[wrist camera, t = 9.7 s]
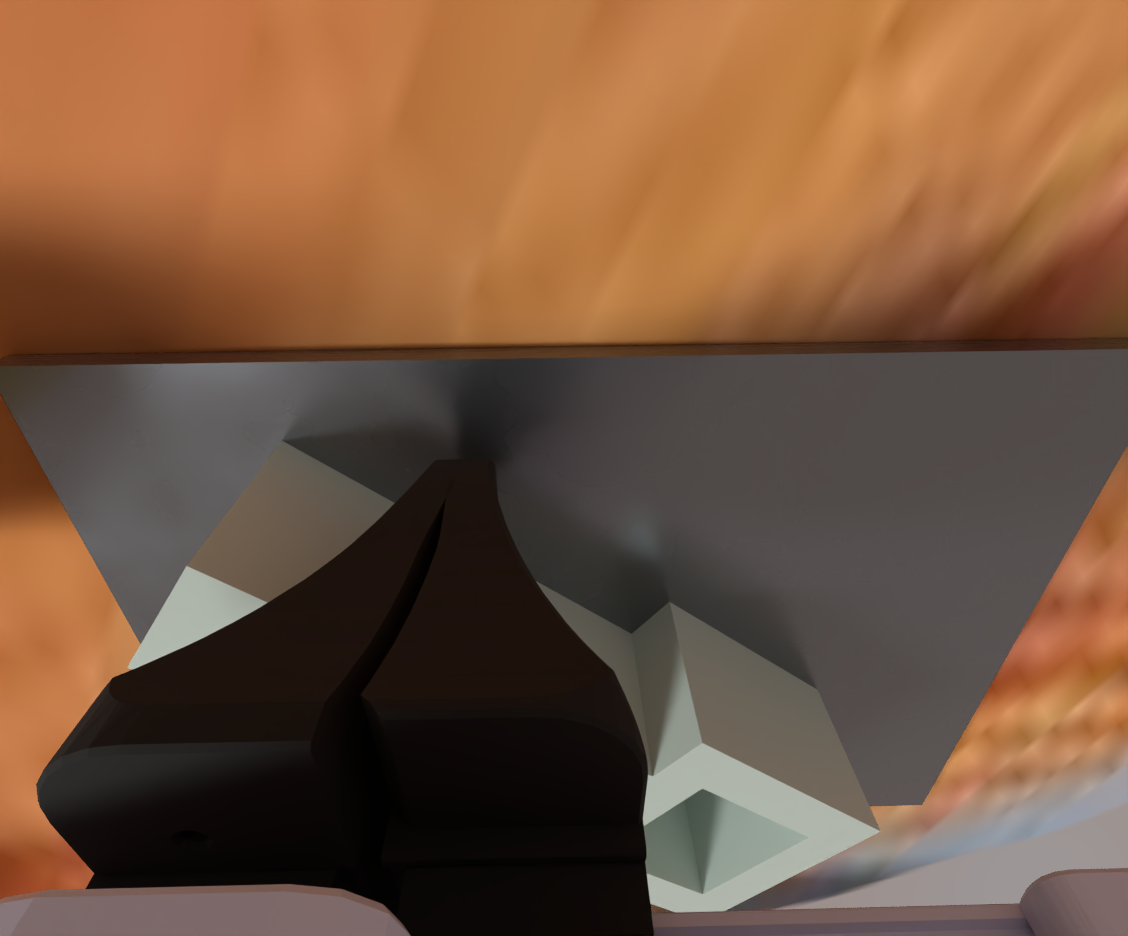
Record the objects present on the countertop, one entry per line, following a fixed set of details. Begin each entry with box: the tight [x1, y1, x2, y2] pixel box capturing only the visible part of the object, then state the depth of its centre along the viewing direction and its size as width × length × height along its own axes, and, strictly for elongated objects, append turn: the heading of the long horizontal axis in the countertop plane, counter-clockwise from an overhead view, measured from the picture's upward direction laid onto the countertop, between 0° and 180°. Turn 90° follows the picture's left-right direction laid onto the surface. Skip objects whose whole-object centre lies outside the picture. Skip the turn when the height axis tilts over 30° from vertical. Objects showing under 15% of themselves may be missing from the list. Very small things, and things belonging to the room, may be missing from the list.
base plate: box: [0, 338, 1128, 806], centre depth 17 cm, size 17×24×1 cm
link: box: [127, 441, 881, 912], centre depth 15 cm, size 16×6×4 cm, turn 52°
